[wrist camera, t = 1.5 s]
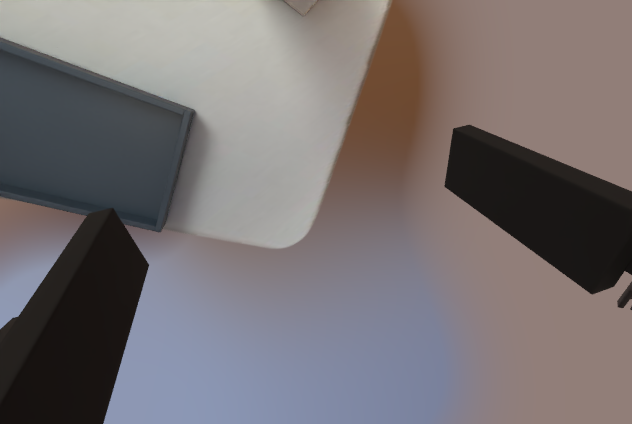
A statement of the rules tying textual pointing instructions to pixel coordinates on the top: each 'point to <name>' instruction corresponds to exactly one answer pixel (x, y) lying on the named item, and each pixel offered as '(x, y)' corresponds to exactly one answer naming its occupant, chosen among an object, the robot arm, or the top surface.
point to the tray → (86, 140)
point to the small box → (301, 5)
